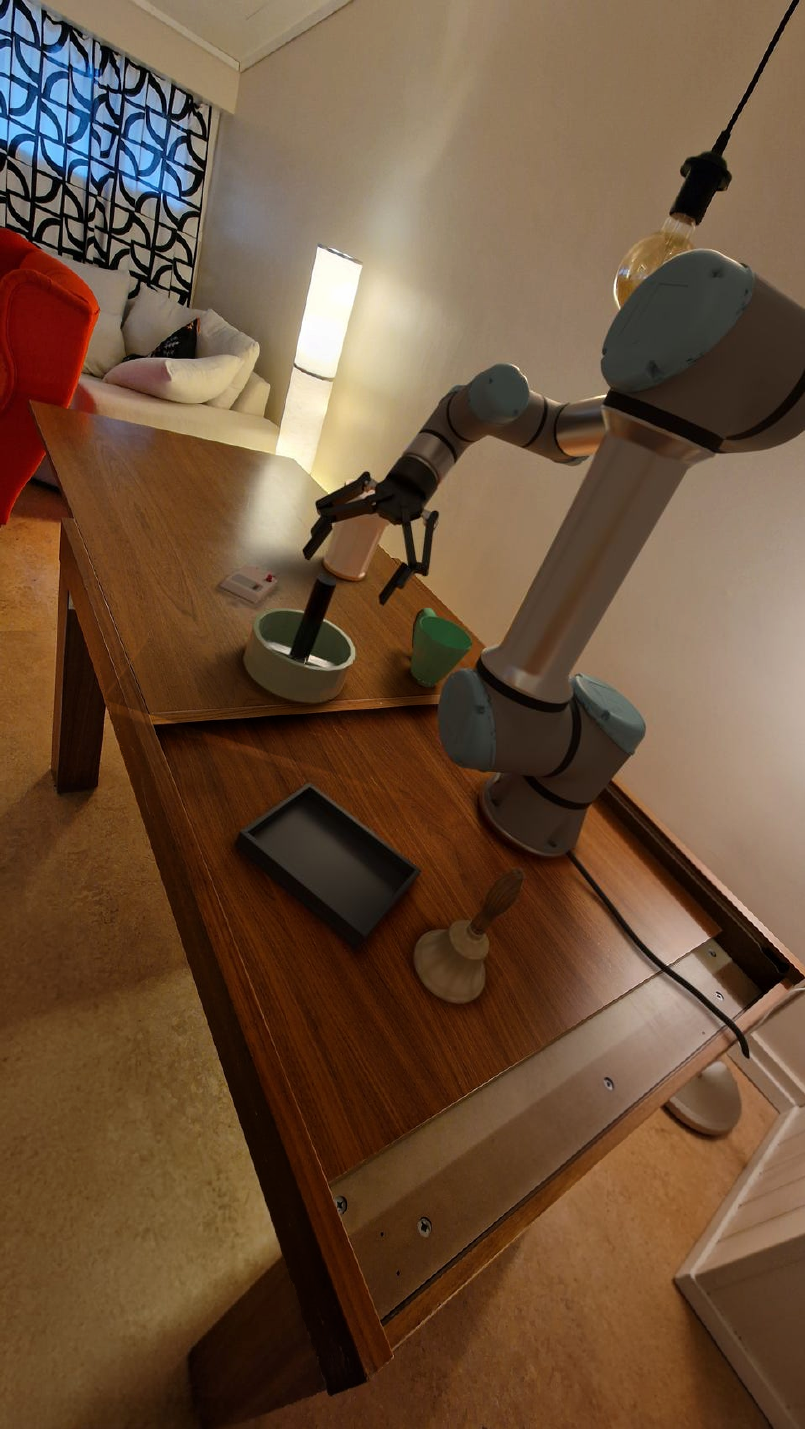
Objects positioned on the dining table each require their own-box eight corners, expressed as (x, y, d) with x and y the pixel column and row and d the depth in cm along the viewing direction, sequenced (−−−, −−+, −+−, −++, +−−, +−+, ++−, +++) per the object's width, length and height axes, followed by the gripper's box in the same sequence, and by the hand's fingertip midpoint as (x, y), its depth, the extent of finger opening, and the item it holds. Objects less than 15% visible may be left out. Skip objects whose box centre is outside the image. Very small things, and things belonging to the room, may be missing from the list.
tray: (413, 883, 73) (421, 870, 72) (356, 951, 63) (365, 937, 62) (302, 795, 77) (309, 781, 76) (233, 846, 67) (239, 831, 66)
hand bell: (398, 964, 64) (465, 869, 55) (436, 917, 71) (502, 825, 62) (462, 1021, 62) (543, 932, 53) (495, 967, 68) (572, 880, 60)
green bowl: (359, 686, 101) (374, 652, 97) (299, 720, 88) (314, 682, 85) (287, 634, 104) (298, 599, 101) (220, 659, 92) (230, 621, 88)
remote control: (213, 594, 105) (217, 578, 103) (252, 565, 118) (256, 551, 116) (248, 611, 105) (253, 596, 103) (283, 581, 118) (288, 567, 117)
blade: (332, 664, 101) (366, 579, 92) (324, 699, 93) (361, 609, 84) (266, 641, 99) (295, 551, 90) (252, 674, 91) (282, 579, 82)
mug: (456, 698, 110) (481, 653, 104) (407, 693, 105) (431, 645, 99) (427, 650, 120) (449, 606, 114) (382, 642, 115) (403, 596, 109)
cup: (375, 587, 132) (406, 512, 122) (326, 578, 126) (354, 498, 117) (359, 561, 140) (387, 487, 130) (312, 551, 134) (338, 473, 124)
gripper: (485, 524, 99) (413, 629, 95) (354, 450, 102) (279, 549, 98) (491, 497, 92) (413, 610, 88) (350, 418, 95) (269, 524, 91)
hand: (342, 578), depth 93 cm, fingers open, 13 cm apart
